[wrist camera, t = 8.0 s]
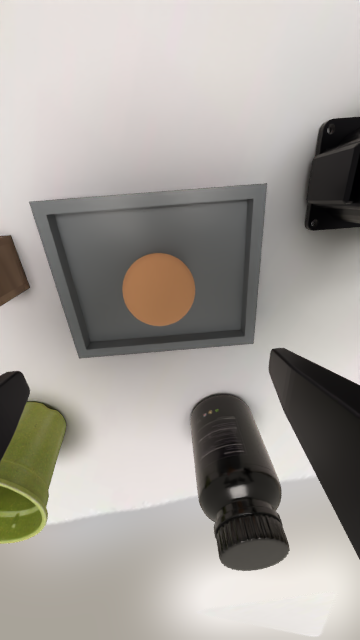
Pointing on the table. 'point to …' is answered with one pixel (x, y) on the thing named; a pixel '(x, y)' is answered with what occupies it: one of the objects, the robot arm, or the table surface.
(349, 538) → the robot arm
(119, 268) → the tray
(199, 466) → the supplement bottle
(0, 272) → the brown wooden open cube
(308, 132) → the table surface
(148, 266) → the ball
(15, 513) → the plant pot
